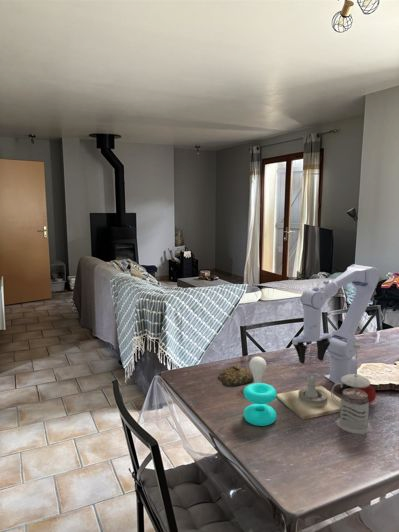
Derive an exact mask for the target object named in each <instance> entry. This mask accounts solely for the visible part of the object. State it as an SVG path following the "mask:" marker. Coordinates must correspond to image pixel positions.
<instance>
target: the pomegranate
mask: <svg viewBox="0 0 399 532" xmlns="http://www.w3.org/2000/svg"><path fill="white" fill-rule="evenodd" d="M356 389H359V390H362V391H364V392H366V393H367V394H368V399H369V404H370V403H373V402H374V401H375V399H376V396H377V394H376V390H375V387H374V386H372V385H371V384H370V385H369V386H368V387H365V388H357V387H356ZM360 402H362V403H363V404H365V403H364V402H363V401H362V400H360Z"/></svg>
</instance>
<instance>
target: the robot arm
mask: <svg viewBox="0 0 399 532" xmlns="http://www.w3.org/2000/svg"><path fill="white" fill-rule="evenodd" d="M379 280H380V274H379V270H378V269H377V267H375V266H365V265H360V264H355V263H353V264H351V265H350V266H348V267H347V268H346V270H345V271H344V272H342V273H341V274H340V275H339V276H337V277H336V278H334V279H333V280H331V279H324V280H323V281H322V282H321V283H320V284H318V285H317V286H314V287H313V288H312V289H307V290H304V291H303V292H302V294H301V297H300V298H299V299H300V303H301V304H302V310H303V330H302V331H303V334H302V335H299V336H296V337H292V338H291V339H292V342H291V343H292V345H293V347H294V349H295V351H296V352H297V353H296V354H297V356H298V360H299V361H298V362H299V363H301V365H302V364H303V365H305V362H306V361H305V360H306V352H307V349H308V347H307V346H306V345H305V344H306V343H312V342H316V347H317V349H316V351H317V360H319V361H320V362H323V361H324V358H325V354H326V352H328V355H329V374H325V375H324V377H325V378H326V379H328V380H329V381H331V382H332V383H334V384H335V383H337V382H339V381H341V378H342V377H343V376H345V375H348V374H355V373H356V374H358V366H357V367H356V348H354V347H353V346H354V344H359V343H358V342H359V341H358V340H357V338H356V337H355V334H356V332H357V330H358V327H359V325H360V323H361V321H362V318H363V316H364V314H365V312H366V310H367V308H368V305H369V304H370V301H371V298H372V296H373V294H374V291H375V289H376V287H377V285H378V283H379ZM350 283H351V285H352V286H353V288H354V289H355V291H356V292H355V295H354V297H353V299H352V301H351V303H350V304H349V305H350V306H349V308H348V310H347V311H346V315H345V316H344V319H343V321H342V324H341V326H340V328H339V329H336V330H334V331H332V332H331V334H330V333H328V332H325V333H321V322H322V321H321V317H322V316H321V315H322V311H321V310H322V308H323V307H324V305H325V303H326V302H327V300H329V299H331V298H332V297H333V296H335V295H336V294H338V291H339V289H341V288H343V287H344V286H346V285H348V284H350ZM339 383H341V384H342V382H339ZM341 384H338V383H337V385H336V386H338V385H341ZM343 385H345V384H344V383H343Z"/></svg>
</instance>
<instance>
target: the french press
mask: <svg viewBox="0 0 399 532" xmlns="http://www.w3.org/2000/svg"><path fill="white" fill-rule="evenodd" d="M353 347H354V348H356V353H355V358H356V367H357V368H358V360H357V359H358V349H361V345H360V344H359V343H358V344H354V346H353ZM339 382H342V384H341V383H339ZM339 382H337V383H338V384H339V385H340V388H343V386H344V385H346V386H348V387H350V388H344V389H343V390H342V391H341V392H342V393H341V394H342V395H341V398H340V399H341V403H339V402H338V401H337V400H336V399H335V397H334V395H335V394H334V389H335V387H336V386H338V385H337V383H334V385H333V386H332V388H331V390H330V392H331V397H332V394H333V397H334V399H335V400H336V401H337V402H338V403H339V404H341V407H340V406H339V405H338V404H336V403H335V402H334V400H333V398H332V400H333V402H334V403H335V404H336V405H338V406H339V407H340V412H339V417H338V418H337V420H336V424H337V426H338V427H339V428H340V429H342V430H343V431H345V432H348V433H352V434H358V435H359V434H366V433H369V432H371V430H372V424H370V422H369V409H370V408H369V406H370V403H369V399H368V394H367V393H366V392H364V391H362V390H359V389H357V388H365V387H368V386H369V385H371V380H369V379H368V378H367V377H366V376H363V375H360V374H358V373H357V374H356V373H355V374H348V375H345V376H343V377H342V378H341V381H339ZM343 383H344V384H343ZM361 400H362V401H363V402H364V403H365V404H364V403H363V402H362V401H361ZM346 406H349V407H347V408H346ZM349 408H351V409H349Z"/></svg>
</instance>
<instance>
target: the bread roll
mask: <svg viewBox="0 0 399 532" xmlns="http://www.w3.org/2000/svg"><path fill="white" fill-rule="evenodd" d="M218 379H219V381H221V382H222V385H224V386H228V387H229V386H232V387H233V386H239V385H240V386H241V385H245V384H248V383H252V382H254V378H253V373H252V372H250V371H249V370H248V369H247V368H245V367H243V366H239V365H231V366H229V367H227V368H225V370H223V371H222V372H220V373H218Z"/></svg>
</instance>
